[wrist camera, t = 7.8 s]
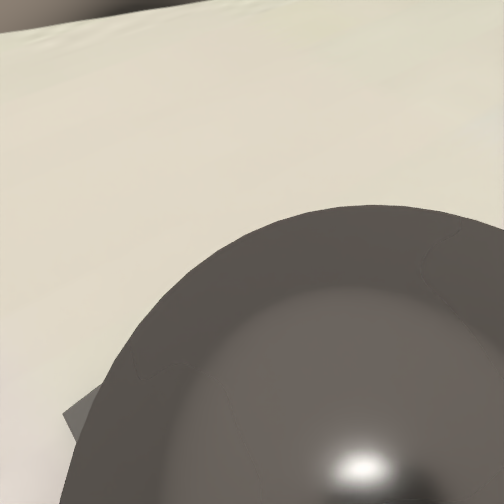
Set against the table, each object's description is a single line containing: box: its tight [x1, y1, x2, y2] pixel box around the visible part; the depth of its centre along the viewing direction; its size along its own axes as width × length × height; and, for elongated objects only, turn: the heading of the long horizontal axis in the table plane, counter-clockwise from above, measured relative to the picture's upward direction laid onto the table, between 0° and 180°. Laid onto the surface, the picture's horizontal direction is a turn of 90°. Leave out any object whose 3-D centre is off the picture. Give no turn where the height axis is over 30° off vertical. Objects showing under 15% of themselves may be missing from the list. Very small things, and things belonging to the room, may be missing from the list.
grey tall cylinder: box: [59, 205, 504, 504], centre depth 8 cm, size 5×5×13 cm
